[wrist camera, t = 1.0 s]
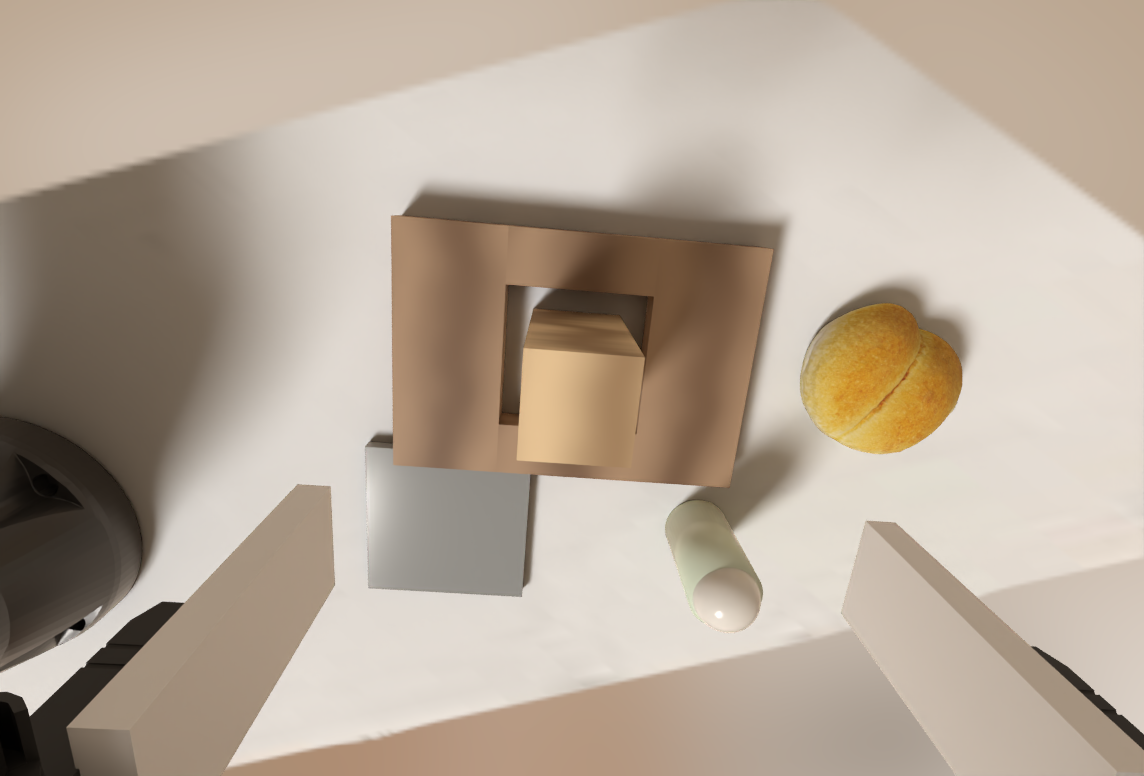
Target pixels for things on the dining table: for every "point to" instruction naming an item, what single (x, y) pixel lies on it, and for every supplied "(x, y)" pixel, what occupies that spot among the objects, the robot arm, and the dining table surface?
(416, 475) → the slate board
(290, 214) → the dining table surface
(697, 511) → the sage shaker
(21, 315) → the dining table surface
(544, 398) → the oak block
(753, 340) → the walnut board
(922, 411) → the bread roll
